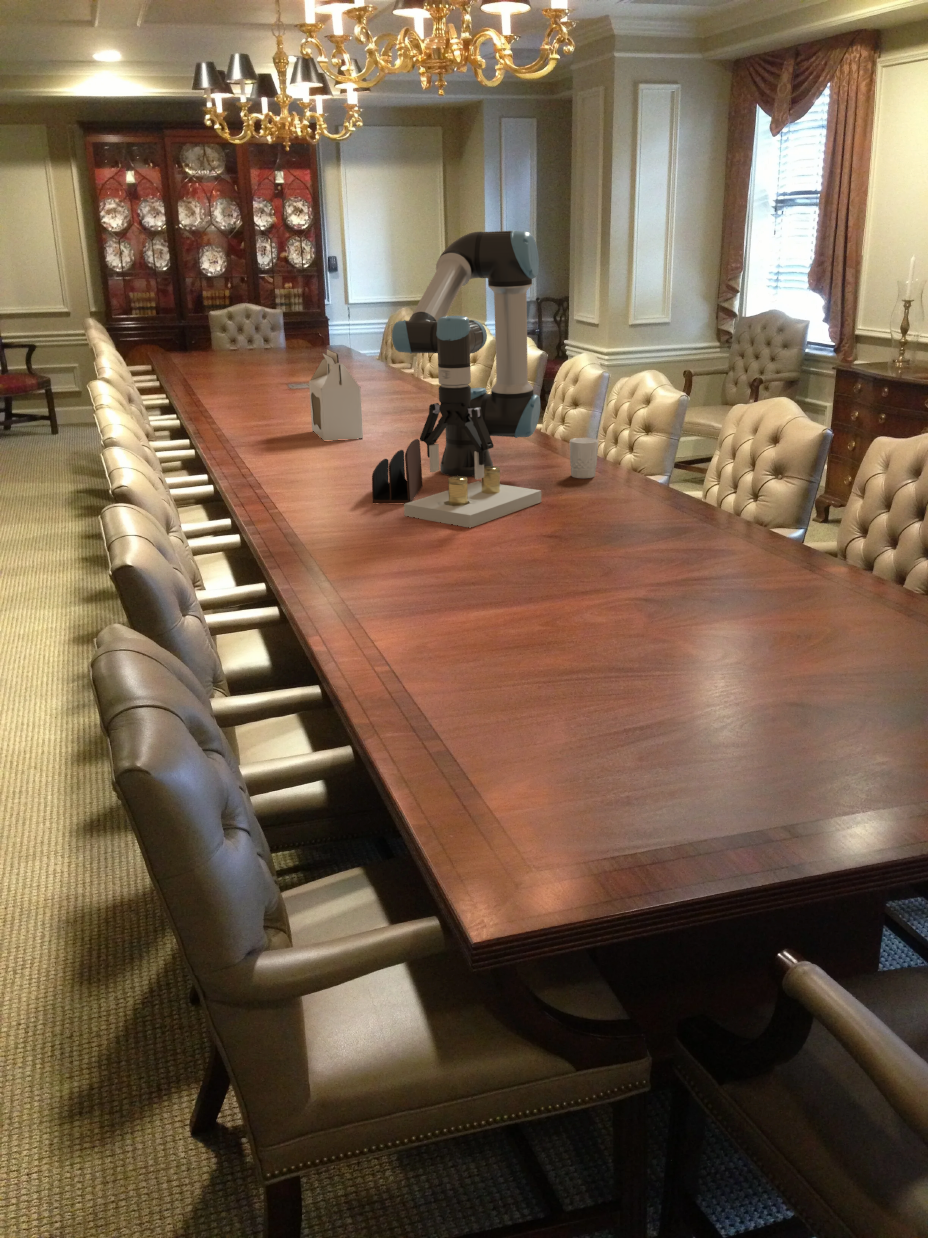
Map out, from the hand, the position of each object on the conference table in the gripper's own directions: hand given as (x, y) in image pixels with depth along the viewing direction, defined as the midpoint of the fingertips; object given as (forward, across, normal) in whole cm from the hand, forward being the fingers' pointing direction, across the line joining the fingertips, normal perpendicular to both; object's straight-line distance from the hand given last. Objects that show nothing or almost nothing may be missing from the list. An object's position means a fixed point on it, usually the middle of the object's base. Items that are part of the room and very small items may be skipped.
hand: (456, 474), depth 255 cm
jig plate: (+10, 0, +7) cm, 12 cm away
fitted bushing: (+10, 0, +14) cm, 17 cm away
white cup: (+11, +3, +54) cm, 55 cm away
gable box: (+11, -101, +64) cm, 120 cm away
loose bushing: (+10, 0, 0) cm, 10 cm away
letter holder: (+10, -26, +8) cm, 29 cm away
